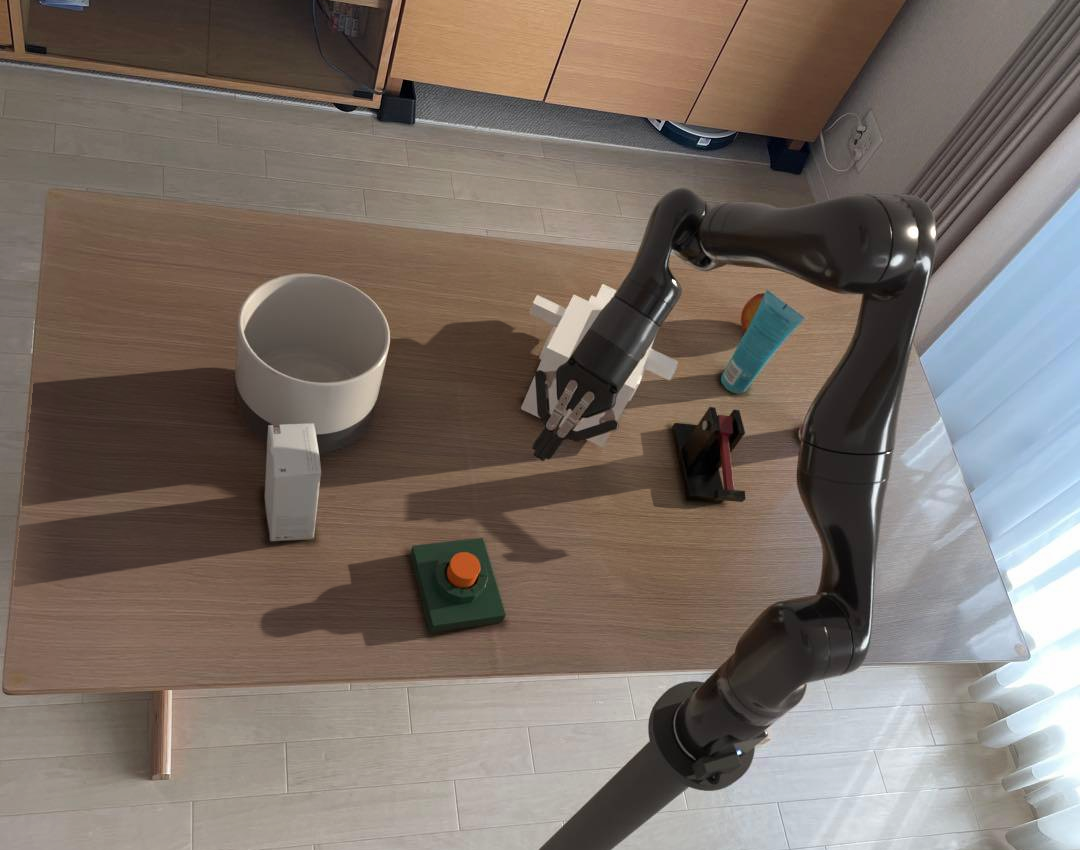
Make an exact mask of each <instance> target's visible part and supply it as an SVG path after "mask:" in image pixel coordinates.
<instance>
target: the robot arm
mask: <svg viewBox="0 0 1080 850" xmlns="http://www.w3.org/2000/svg"><path fill="white" fill-rule="evenodd" d="M936 223H937V222H936V219H935V216H934V212H933V210H932V208H931V207H930V206H929V204H928V203H927V201H926V200H924V199H922V198H921V197H919V196H917V195H912V194H902V193H901V194H898V193H897V194H896V193H852V194H851V193H850V194H846V195H841V196H838V197H834V198H829V199H826V200H822V201H818V202H817V201H816V202H814V203H809V204H805V205H801V206H794V207H780V206H777V205H775V204H771V203H767V202H757V201H734V200H733V201H722V202H719V203H716V204H715V205H713V206H711V205H710V204H709V203H708V202H706V201H705V200H704V199H703V198H701V196H699V194H697V193H696V192H695V191H693V190H691V189H690V188H687V187H677V188H674V189H671V190H670V191H668V192H667V193H665V194H664V195H663V196H662V197H661V198H660V199H659V200H658V201H657V203H656V204H655V206H654V207H653V209H652V212H651V213H650V216H649V219H648V220H647V224H646V227H645V231H644V234H643V237H642V239H641V242H640V245H639V247H638V251H637V253H636V255H635V258H634V261H633V264H632V265H631V268H630V269H629V272H628V273H627V274H626V276H625V278H624V279H623V280H622V282H621V283H620V285H619V286H618V288H617V291H616V293H615V294H614V297H612V298H611V300H610V301H609V302H608V303H607V304H606V306H605V307H604V308H603V309H602V310H601V312H600V313H599V315H598V316H597V318H596V319H595V321H594V322H593V324H592V325H591V327H590V328H589V330H588V331H587V333H586V334H585V336H584V337H583V339H582V340H581V342H580V343H579V345H578V346H577V348H576V349H575V351H574V352H573V354H572V355H571V357H570V358H569V360H568V361H567V362H566V363H564V364H563V365H561V366H559V367H558V369H557V371H546V372H544V371H541V370H538V371H537V370H536V371H537V372H535V374H534V376H535V382H536V398H537V413H538V416H539V417H540V418H539V417H538V418H539V419H541V421H542V422H543V424H544V426H543V429H542V430H541V432H540V434H539V435H538V437H536V439H535V441H534V443H533V444H532V448H531V449H532V450H533V451H534V452H533V454H532V455H533V456H534V457H535V458H536V459H538V460H540V461H541V462H544V461H545V460H552V458H554V457H555V456H556V454H557V453H558V451H559V450H560V448H561V446H562V445H563V444H564V442H565V441H566V440H570V441H573V442H578V443H580V442H582V441H587V440H586V439H589V438H592V437H595V436H599V435H602V434H605V433H608V432H611V431H612V432H613V431H617V430H618V429H619V428H620V423H619V422H618V421H616V418H615V415H614V411H613V407H614V406H615V404H616V397H617V394H618V393H619V391H620V390H621V388H622V387H623V385H624V384H625V382H626V381H627V379H628V378H629V376H630V375H631V373H632V372H633V370H634V369H635V367H636V366H637V365H638V363H639V361H640V360H641V359H642V358H643V357H644V356H645V354H646V351H647V350H648V348H649V347H650V345H651V343H652V341H653V339H654V337H655V335H656V336H657V334H656V333H658V332H659V330H660V328H661V327H662V325H663V324H664V322H665V321H666V319H667V318H668V317H669V315H670V314H671V312H672V311H673V309H674V307H675V306H676V305H677V303H678V301H679V300H680V298H681V296H682V292H683V290H682V286H681V284H680V282H679V281H678V279H677V278H676V277H675V276H674V273H672V271H671V269H670V266H669V265H670V259H671V258H670V256H671V253H673V254H674V255H675V256H676V257H678V258H679V259H680V260H681V261H682V262H684V263H685V264H686V265H688V266H689V267H691V268H693V269H695V270H698V271H701V272H710V271H713V270H715V269H716V270H717V269H719V268H722V267H725V266H727V265H728V266H736V267H742V268H743V267H744V268H753V269H769V270H775V271H778V272H782V273H785V274H788V275H791V276H793V277H795V278H798V279H800V280H802V281H804V282H806V283H809V284H811V285H814V286H816V287H819V288H821V289H823V290H826V291H829V292H831V293H835V294H839V295H861V302H860V306H859V312H858V314H857V315H858V316H857V320H856V325H855V328H854V332H853V334H852V337H851V340H850V342H849V345H848V347H847V348H846V350H845V352H844V354H843V355H842V357H841V359H840V360H839V361H838V363H837V364H836V366H835V367H834V369H833V370H832V372H831V373H830V375H829V376H828V377H827V379H826V381H825V382H824V383H823V385H822V386H821V388H820V390H819V391H818V392H817V394H816V396H815V397H814V399H813V400H812V402H811V404H810V406H809V408H808V410H807V412H806V413H805V416H804V419H803V422H802V426H803V428H802V433H801V441H800V440H799V441H800V442H799V448H798V449H799V450H798V456H797V457H798V458H797V465H796V487H797V491H798V494H799V497H800V500H801V502H802V504H803V506H804V509H805V511H806V513H807V515H808V517H809V520H810V521H811V523H812V525H813V527H814V529H815V531H816V533H817V536H818V538H819V542H820V544H821V551H822V553H821V554H822V559H821V563H822V564H821V574H820V579H819V584H818V588H817V591H816V593H815V594H811V595H807V596H802V597H795V598H790V599H785V600H780V601H776V602H775V603H772V604H771V605H769V606H767V607H766V608H765V609H764V610H763V611H762V612H761V613H760V614H759V615H758V616H756V618H755V619H754V621H753V622H752V623H751V624H750V625H749V627H747V629H746V630H745V631H744V632H743V634H742V635H740V637H739V639H738V641H737V643H736V645H735V649H734V652H733V653H732V654H731V655H730V656H729V657H728V658H727V659H726V660H725V661H724V662H723V663H722V664H721V665H720V666H719V667H718V668H717V669H716V670H715V671H713V673H712V674H711V675H710V676H709V677H708V678H707V679H706V680H705V681H703V682H704V683H703V684H702V685H701V686H700V687H697V688H695V689H694V690H693V691H692V692H694V691H695V692H694V693H693V694H692V695H691V696H690V697H689V698H688V699H687V700H686V701H684V702H683V703H682V704H681V705H680V706H679V707H678V708H677V709H676V711H675V713H674V715H673V718H672V733H673V737H674V740H675V742H676V744H677V746H678V748H679V749H680V750H681V752H682V753H683V754H684V755H685V756H686V757H687V758H689V759H690V760H691V761H693V762H694V764H693V765H692V768H693V771H694V774H695V777H696V779H697V780H701V779H706V780H707V781H708V782H709V783H711V784H712V785H717V784H718V783H719V782H720V780H721V777H722V775H723V774H727V773H731V772H733V771H734V770H735V769H737V768H738V767H739V766H741V765H742V764H741V761H740V759H739V758H741V757H742V756H743V755H745V754H746V753H747V752H748V751H750V750H751V749H752V748H754V747H755V748H756V746H758V745H759V744H760V743H761V742H762V741H764V740H765V739H767V738H768V736H769V733H768V729H769V728H770V727H771V726H773V725H774V724H776V722H778V721H779V720H781V718H783V717H784V716H786V714H788V713H789V712H790V711H792V710H794V708H796V707H797V706H798V705H799V704H800V703H801V701H802V700H803V698H804V697H805V694H806V691H807V686H808V684H811V683H816V682H821V681H824V680H829V679H834V678H837V677H842V676H845V675H849V674H851V673H853V672H855V671H857V670H859V668H860V667H861V666H862V665H863V664H864V662H865V661H866V658H867V657H868V654H869V651H870V647H871V642H872V634H873V622H874V621H873V620H874V605H875V603H874V602H875V583H876V568H877V558H878V557H877V556H878V548H879V542H880V535H881V534H880V533H881V525H882V518H883V511H884V505H885V500H886V495H887V491H888V485H889V480H890V475H891V470H892V463H893V457H894V450H895V446H896V438H897V437H896V436H897V428H898V419H899V413H900V407H901V404H902V403H901V402H902V399H903V392H904V389H905V382H906V378H907V373H908V367H909V362H910V357H911V353H912V348H913V344H914V341H915V336H916V332H917V329H918V325H919V322H920V317H921V314H922V310H923V306H924V303H925V300H926V296H927V293H928V289H929V285H930V281H931V278H932V273H933V269H934V264H935V260H936V255H937V245H938V244H937V243H938V242H937V240H938V230H937V224H936ZM655 338H656V337H655ZM654 340H655V339H654ZM555 379H556V387H557V399H558V403H557V405H556V407H555V408H554V411H553V413H552V415H551V414H550V406H549V391H548V388H551V387H552V386H553V382H554V380H555ZM569 409H571V410H572V412H571V413H570V415H569V416H568V417H567V419H566V421H565V422H564V423H563V425H562V426H561V427H559V425H560V424H561V422H562V420H563V418H564V417H565V416H566V414H567V412H568V411H569ZM603 412H605V415H604V416H603V417H601V418H600V419H599V423H600V424H598V425H595V426H592V427H589V428H586V429H583V430H580V431H574V428H575V427H576V426H577V425H578V424H579V423H580V421H581V420H582V419H583V418H590V417H592V416H595V415H598V414H600V413H603ZM612 432H611V433H612ZM692 692H691V693H692ZM714 776H715V778H713V777H714Z"/></svg>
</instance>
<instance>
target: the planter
mask: <svg viewBox="0 0 1080 850" xmlns="http://www.w3.org/2000/svg"><path fill="white" fill-rule="evenodd" d="M390 344H391V332H390V326H389V324H388V320H387V318H386V316H385V314H384V313H383V311H382V310H381V308H380V307H379V306H378V304H377V303H376V302H375V301H374V300H373V299H372V298H371V297H370V296H369V295H367V294H366V293H365V292H363V291H362V290H361V289H359V288H357V287H356V286H354V285H352V284H350V283H349V282H345V281H343V280H341V279H338V278H335V277H331V276H328V275H323V274H317V273H292V274H285V275H281V276H277V277H274V278H272V279H269V280H267V281H265V282H262V283H261V284H260V285H258V286H257V287H255V288H254V289H253V290H252V291H251V292H249V293H248V295H247V296H246V297H245V299H244V300H243V301H242V304H241V305H240V308H239V312H238V315H237V327H236V346H235V348H236V349H235V364H234V365H235V366H234V367H235V369H234V388H233V399H234V404H235V408H236V411H237V413H238V415H239V417H240V419H241V420H242V422H243V423H244V425H245V426H246V427H247V428H248V429H249V430H250V431H251V432H252V433H253V434H254V435H255V436H256V437H258V438H259V439H261V440H262V441H263V442H265V443H267V438H268V425H284V424H311V423H313V424H314V427H315V432H316V438H317V445H318V451H319V454H325V453H326V454H327V453H330V452H335V451H338V450H340V449H343V448H345V447H348V446H349V445H351V444H353V443H354V442H356V441H357V440H358V439H359V438H360V437H362V435H363V434H364V433H365V432H366V431H367V429H368V428H369V426H370V425H371V422H372V420H373V418H374V414H375V409H376V406H377V401H378V397H379V393H380V388H381V385H382V381H383V375H384V371H385V367H386V364H387V363H386V362H387V359H388V353H389V350H390ZM298 378H299V379H298ZM301 378H302V379H301ZM307 379H308V380H307ZM313 380H314V381H313Z"/></svg>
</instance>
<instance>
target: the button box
mask: <svg viewBox="0 0 1080 850" xmlns="http://www.w3.org/2000/svg"><path fill="white" fill-rule="evenodd" d="M485 543H486V542H485V539H484V538H483V537H479V538H470V539H469V538H468V539H459V540H452V541H451V540H450V541H442V542H434V543H433V542H432V543H425V544H424V543H423V544H416V545H414V544H413V545H412V546H411V550H410V552H409V556H410V560H411V563H412V567H413V571H414V575H415V580H416V583H417V588H418V591H419V595H420V599H421V603H422V607H423V611H424V616H425V619H426V623H427V627H428V630H429V633H430V634H432V633H440V632H446V631H453V630H459V629H467V628H474V627H479V626H480V627H481V626H487V625H495V624H501V623H503V622H504V619H505V618H506V615H507V614H506V610H505V608H504V604H503V600H502V597H501V594H500V590H499V586H498V584H497V580H496V577H495V574H494V569H493V567H492V563H491V561H490V557H489V553H488V550H487V547H486V544H485ZM461 552H467V553H470V554H472V555H474V556H475V557H476V558H477V559H478V561H479V563H480V572H479V574H478V576H477V578H476V580H475V582H474V584H473V585H472V586H470V587H468V588H458V587H455V586H454V585H452V584H451V583H450V582H449V580H448V578H447V575H446V572H447V568H448V566H449V563H450V561H451V559H452V557H453V556H454V555H456V554H457V553H461Z"/></svg>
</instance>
